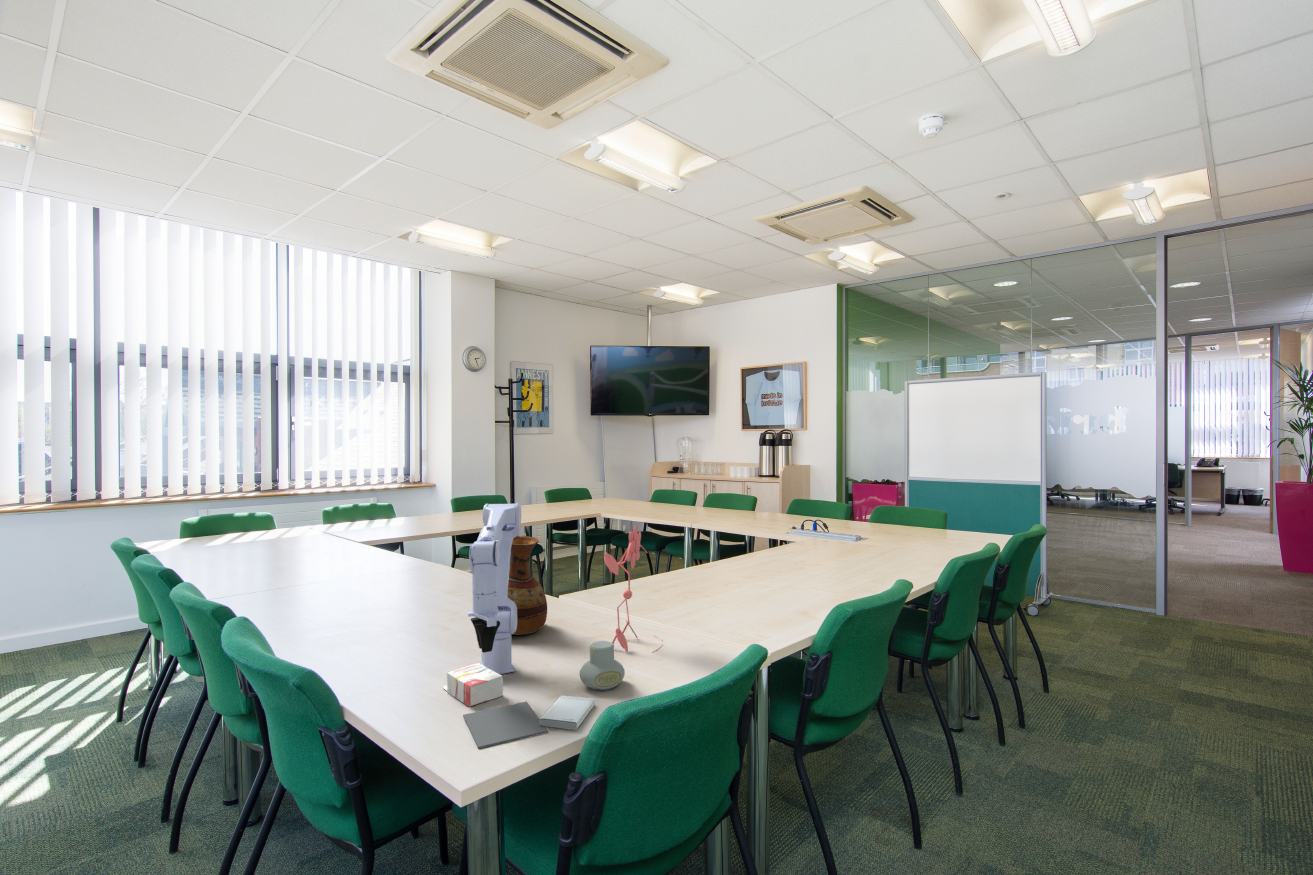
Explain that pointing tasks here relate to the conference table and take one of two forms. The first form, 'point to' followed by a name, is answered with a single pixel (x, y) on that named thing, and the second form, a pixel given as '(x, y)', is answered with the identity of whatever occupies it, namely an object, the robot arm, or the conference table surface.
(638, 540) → the pink thin stick figure
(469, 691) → the ink cartridge box
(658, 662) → the conference table surface
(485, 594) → the robot arm
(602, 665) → the air freshener
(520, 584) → the ceramic pitcher
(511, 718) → the mat
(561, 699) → the hard drive
